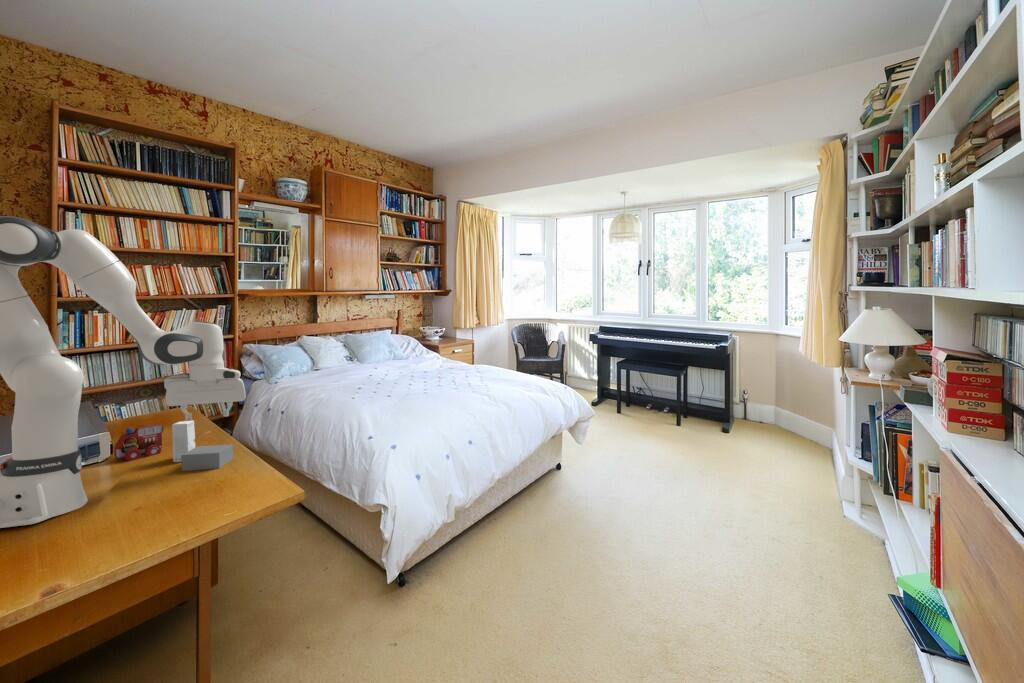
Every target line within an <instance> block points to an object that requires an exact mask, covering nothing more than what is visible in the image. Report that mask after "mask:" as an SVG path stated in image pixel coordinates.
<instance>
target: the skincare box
mask: <svg viewBox="0 0 1024 683" xmlns="http://www.w3.org/2000/svg"><path fill="white" fill-rule="evenodd" d="M171 430H172V431H171V434H172V435H171V436H172V437H171V438H172V458H173V459H172V462H174V463H180V462H181V455H182V454H184V453H186V452H188V451H190V450H192V449H194V448H196V431H195V420H182V421H181V420H180V421H178V422H175V423H173V424H171Z"/></svg>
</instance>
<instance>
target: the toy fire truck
mask: <svg viewBox="0 0 1024 683" xmlns="http://www.w3.org/2000/svg"><path fill="white" fill-rule="evenodd" d="M163 432H164V424H160V423H159V424H151V425H145V426H140V427H139V426H137V427H136V428H135V429H134V428H132V427H128V428H126V430H125V433H124V434H121V435H120V437H119V438H118V440H117V441H116V442H115V445H114V447H113V452H114V457H115V459H123V458H124V459H125V460H126V461H128V462H130V461H135V460H138V459H140V458H141V456H142V454H143V455H145V456H146V457H151V456H155V455H159V454H160V455H161V451H162V449H163V437H162V434H163Z"/></svg>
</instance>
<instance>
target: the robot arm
mask: <svg viewBox="0 0 1024 683" xmlns="http://www.w3.org/2000/svg"><path fill="white" fill-rule="evenodd" d="M37 263H47V264H50V265H53V266H54V267H56V268H58V269H59V270H60V271H61V272H62V273H64V275H66V277H68V279H69V280H70V281H71V282H72V283H73V284H74V285H76V287H77V288H78V289H80V290H81V291H82V292H83V293H85V294H86V295H87V296H88V297H89V298H91V299H92V300H93V301H94V302H96V303H97V304H98V305H100V306H101V307H102V308H103V309H105V310H106V311H107V312H109V313H110V314H111V315H112V316H113V317H114V318H115V319H116V320H117V321H118V323H120V324H121V326H122V327H123V328H124V329H125V330H126V331H127V332H128V333H129V334H130V336H132V338H133V339H134V341H135V343H136V345H137V349H138V352H139V354H140V356H141V357H142V359H144V360H145V361H146V362H148V363H150V364H152V365H157V366H165V365H166V366H167V365H168V366H169V365H170V366H175V365H180V364H183V363H184V364H185V363H188V373H189V374H187V373H186V374H171V375H169V376H167V377H166V378H164V381H163V384H164V386H163V387H164V389H165V390H166V391H165V398H164V399H165V401H164V402H165V403H164V404H165V405H166V406H168V407H175V406H176V407H177V406H178V407H179V406H180V410H181V412H182V413H183V414H184V416H185V420H184V421H192V420H193V413H192V412H188V410H187V408H188V406H190V405H191V406H193V405H205V404H219V403H226V405H227V406H228V407H227V408H226V409H225V410H223V411H222V417H229V416H230V410H231V408H232V407H233V403H234V402H243V401H245V399H246V398H247V397H246V388H245V384H244V381H243V379H242V378H240V377H241V371H240V370H238V369H232V368H230V367H228V368H227V367H225V361H224V359H223V353H224V349H225V348H224V335H223V331H222V328H221V326H220V325H219V324H217V323H214V322H210V321H202V320H193V321H191V322H190V323H188V324H186V325H185V326H182V327H180V328H177V329H174V330H170V331H165V330H163V329H161V328H160V327H158V326H157V324H155V323H154V321H153V320H152V319H151V318H150V317H149V315H148V314H147V313H146V312H145V311H144V310H143V309H142V307H141V306H140V305H139V302H138V301H137V297H136V292H137V282H136V280H135V278H134V277H133V275H132V273H131V272H130V270H129V269H128V268H127V266H125V264H124V263H123V262H122V261H121V260H120V258H118V256H116V254H114V253H113V252H112V251H111V250H110V249H109V248H108V247H107V246H106V245H105V244H103V242H101V241H100V240H98V239H97V238H96V237H95V236H94V235H92V234H91V233H89V232H88V231H86V230H84V229H83V230H82V229H79V228H71V229H70V228H68V229H64V230H60V231H57V232H56V231H55V230H52V229H49V228H47V227H45V226H42V225H41V224H37V223H36V222H33V221H31V220H28V219H25V218H22V217H18V216H12V215H11V216H10V215H1V216H0V375H1V377H2V378H3V381H5V383H6V385H7V386H8V388H9V389H10V390H11V391H13V392H14V393H15V397H14V398H15V400H14V411H13V419H12V423H11V450H12V451H11V453H12V454H11V456H10V457H8V458H6V459H5V460H4V461H3V462H2V463H0V474H1V475H0V529H2V528H11V527H18V526H27V525H33V524H34V525H35V524H37V523H40V522H42V521H43V522H44V521H45V520H48V519H50V518H53V517H57V516H60V515H65V514H67V513H70V512H73V511H75V510H78V509H80V508H82V507H84V506H85V505H86V503H87V502H88V497H87V495H86V493H85V489H84V486H83V482H82V476H81V471H82V460H83V459H82V454H81V449H79V433H78V432H79V429H78V422H79V420H78V419H79V411H80V405H81V400H82V391H83V383H84V379H85V377H84V373H83V370H82V368H81V367H80V365H79V364H78V363H77V362H76V361H74V360H73V359H70V358H69V357H64V356H62V355H61V353H60V352H59V351H60V350H58V348H57V345H56V344H55V341H54V340H53V336H52V335H51V332H50V330H49V325H48V324H47V323H46V321H45V319H44V318H43V317H42V314H41V313H40V311H39V310H38V308H37V307H36V304H34V302H33V301H32V300H33V299H31V297H30V295H29V294H28V292H27V291H26V289H25V288H24V286H23V284H22V283H21V281H20V278H19V271H20V270H22V269H24V268H25V267H29V266H31V265H34V264H37Z"/></svg>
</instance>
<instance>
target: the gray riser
mask: <svg viewBox="0 0 1024 683" xmlns="http://www.w3.org/2000/svg"><path fill="white" fill-rule="evenodd" d="M232 460H234V444H233V443H232V444H218V445H216V444H214V445H201V446H195V448H194V449H192V450H190V451H188V452H186V453H184V454H182V455H181V464H180V466H181V467H180V468H181V471H182V472H186V471H196V470H197V471H199V470H200V471H201V470H215V469H217V470H218V469H221V468H222V467H223V466H225V465H226V464H228V463H230V462H231V461H232Z"/></svg>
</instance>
